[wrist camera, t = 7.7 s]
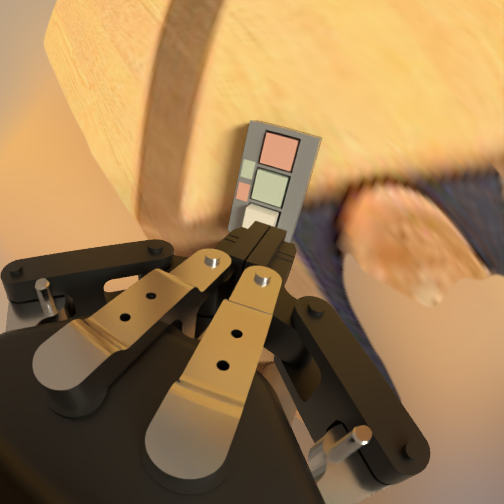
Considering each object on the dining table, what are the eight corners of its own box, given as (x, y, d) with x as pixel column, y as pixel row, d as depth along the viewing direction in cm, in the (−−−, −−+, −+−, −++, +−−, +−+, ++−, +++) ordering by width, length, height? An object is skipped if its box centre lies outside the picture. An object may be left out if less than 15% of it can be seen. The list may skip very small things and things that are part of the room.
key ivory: (271, 238, 39) (268, 244, 37) (245, 229, 40) (240, 234, 38) (279, 212, 37) (275, 217, 35) (251, 203, 38) (246, 207, 36)
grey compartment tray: (291, 242, 41) (286, 251, 39) (236, 222, 43) (227, 231, 40) (322, 137, 33) (319, 138, 31) (257, 120, 35) (249, 120, 32)
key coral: (292, 168, 35) (289, 171, 33) (263, 160, 36) (259, 162, 34) (300, 140, 33) (297, 140, 31) (270, 132, 34) (266, 132, 32)
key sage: (283, 203, 37) (279, 207, 36) (255, 194, 38) (251, 198, 36) (290, 175, 35) (287, 178, 34) (262, 167, 36) (257, 169, 34)
